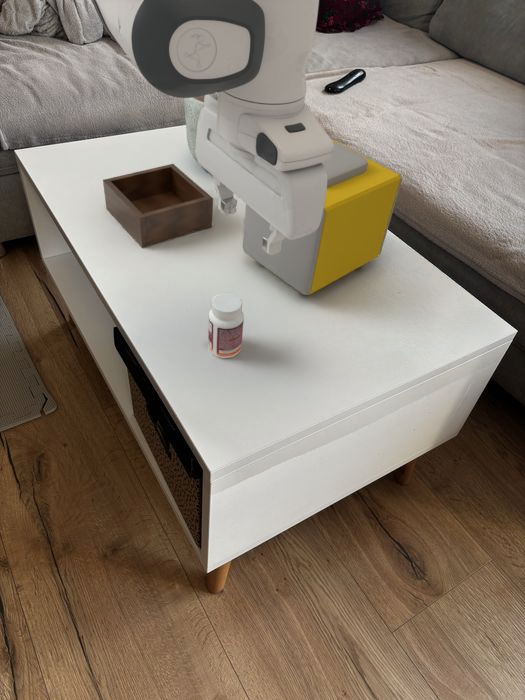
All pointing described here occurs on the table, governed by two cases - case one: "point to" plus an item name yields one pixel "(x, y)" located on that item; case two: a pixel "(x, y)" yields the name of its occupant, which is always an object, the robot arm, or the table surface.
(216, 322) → the pill bottle
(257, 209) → the robot arm
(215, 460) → the table surface
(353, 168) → the alarm clock
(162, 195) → the holder
